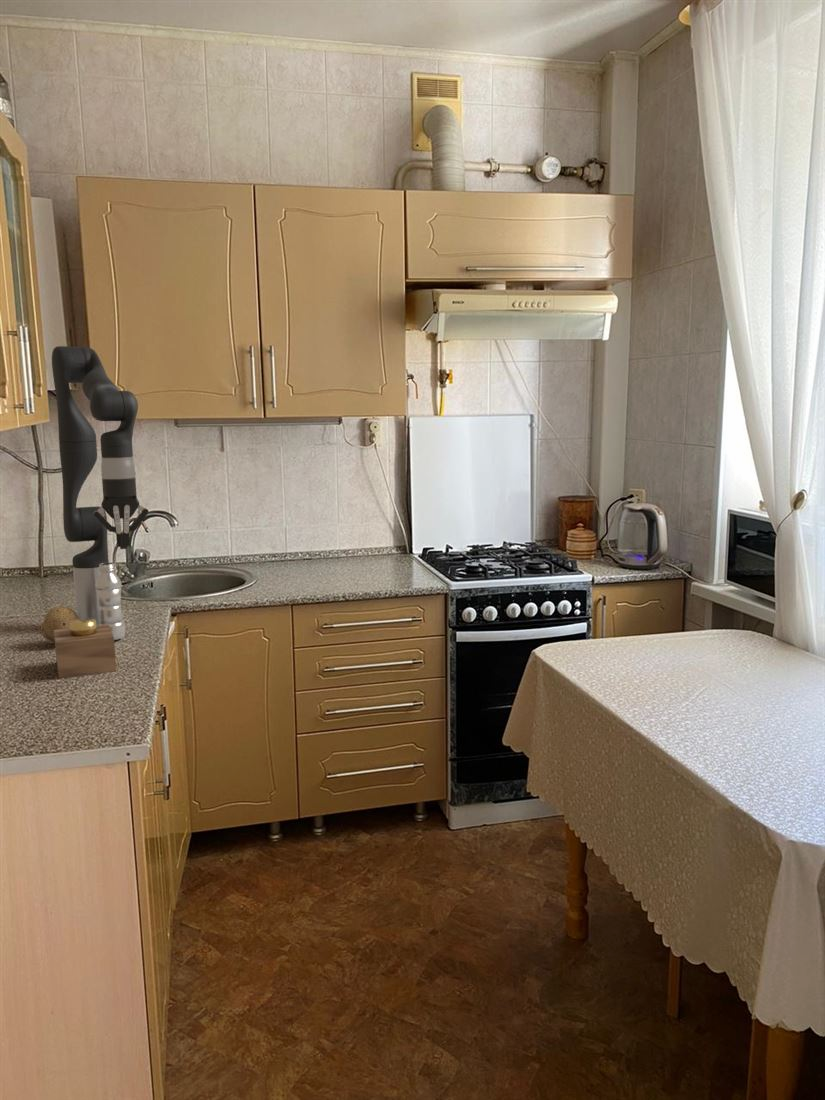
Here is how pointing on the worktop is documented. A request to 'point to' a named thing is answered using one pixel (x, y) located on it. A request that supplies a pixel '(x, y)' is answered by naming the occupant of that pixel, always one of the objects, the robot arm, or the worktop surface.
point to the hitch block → (85, 652)
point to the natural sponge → (57, 621)
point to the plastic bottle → (110, 599)
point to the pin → (83, 627)
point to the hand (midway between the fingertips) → (123, 548)
